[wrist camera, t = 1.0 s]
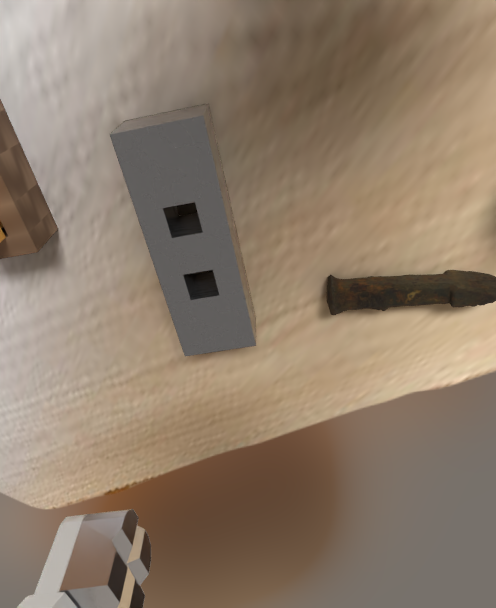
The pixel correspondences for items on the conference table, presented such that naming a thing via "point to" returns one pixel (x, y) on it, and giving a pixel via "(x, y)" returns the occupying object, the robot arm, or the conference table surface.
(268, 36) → the conference table surface
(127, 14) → the conference table surface
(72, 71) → the conference table surface
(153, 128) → the grey slotted block
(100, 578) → the robot arm
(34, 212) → the holder
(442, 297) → the hand tool
